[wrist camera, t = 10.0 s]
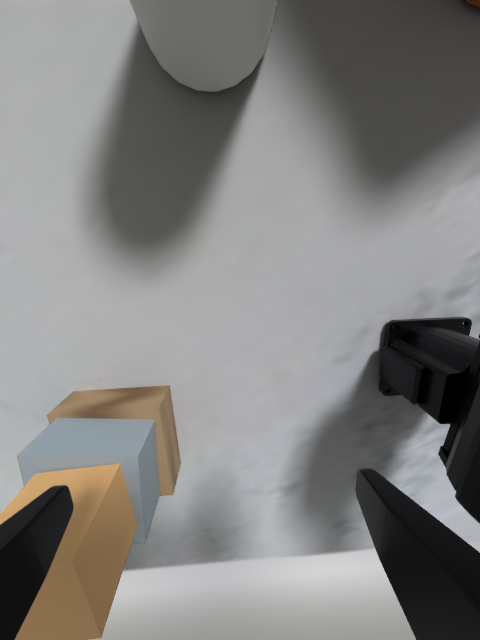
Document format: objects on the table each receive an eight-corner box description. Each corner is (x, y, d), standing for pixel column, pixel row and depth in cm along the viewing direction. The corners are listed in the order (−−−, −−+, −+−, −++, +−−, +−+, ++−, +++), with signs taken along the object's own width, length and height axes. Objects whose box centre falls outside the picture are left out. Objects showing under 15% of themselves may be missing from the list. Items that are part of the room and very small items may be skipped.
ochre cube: (120, 463, 15) (71, 561, 10) (137, 525, 17) (101, 637, 12) (35, 473, 15) (-53, 577, 10) (59, 534, 17) (-10, 652, 12)
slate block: (155, 419, 19) (137, 456, 15) (159, 494, 20) (145, 543, 17) (56, 418, 18) (16, 456, 15) (70, 494, 20) (37, 543, 17)
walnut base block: (170, 383, 22) (158, 407, 18) (181, 460, 24) (172, 494, 20) (75, 389, 22) (46, 415, 18) (95, 465, 24) (72, 501, 20)
